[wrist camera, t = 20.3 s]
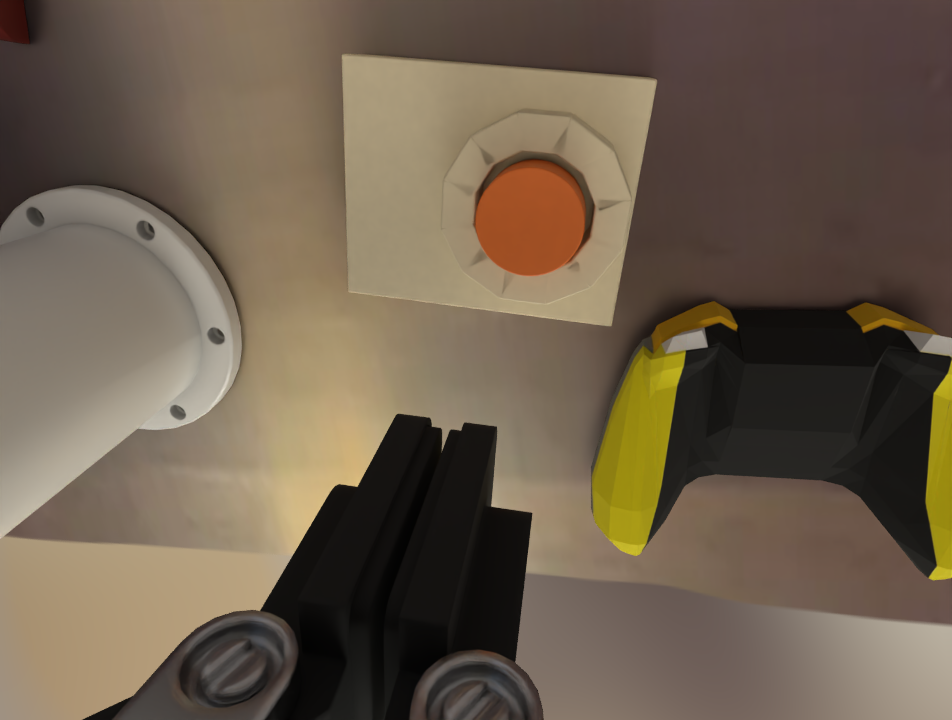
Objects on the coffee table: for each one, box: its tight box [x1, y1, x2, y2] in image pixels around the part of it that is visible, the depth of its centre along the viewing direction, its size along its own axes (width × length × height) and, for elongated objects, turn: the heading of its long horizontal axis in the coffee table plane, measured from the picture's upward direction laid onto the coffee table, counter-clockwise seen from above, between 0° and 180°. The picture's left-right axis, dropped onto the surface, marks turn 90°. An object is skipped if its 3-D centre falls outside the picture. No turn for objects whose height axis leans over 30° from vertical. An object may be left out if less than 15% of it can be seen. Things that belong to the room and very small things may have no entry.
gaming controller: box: [591, 301, 952, 580], centre depth 24 cm, size 15×6×10 cm
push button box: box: [342, 54, 657, 326], centre depth 23 cm, size 11×9×4 cm
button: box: [475, 159, 586, 276], centre depth 21 cm, size 4×4×2 cm
